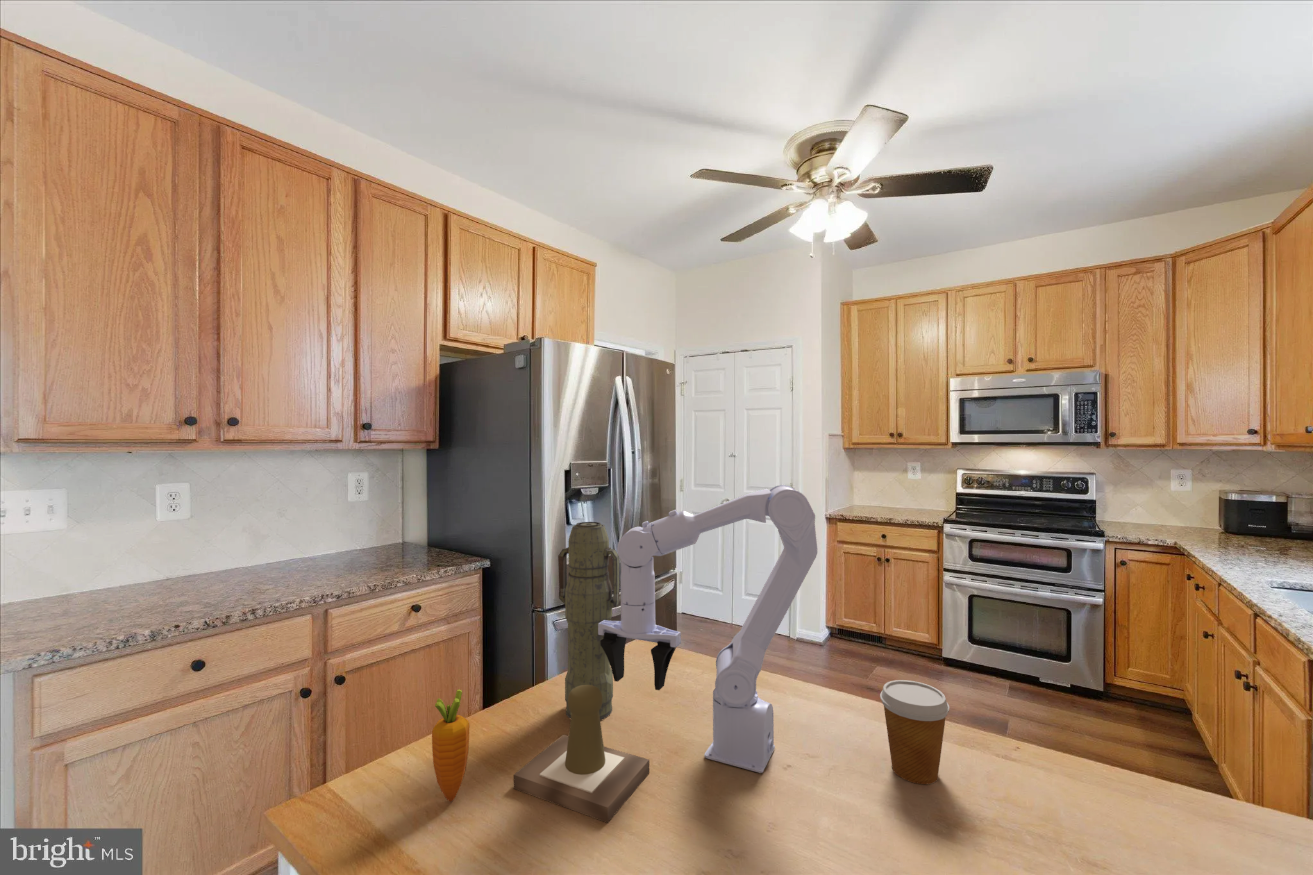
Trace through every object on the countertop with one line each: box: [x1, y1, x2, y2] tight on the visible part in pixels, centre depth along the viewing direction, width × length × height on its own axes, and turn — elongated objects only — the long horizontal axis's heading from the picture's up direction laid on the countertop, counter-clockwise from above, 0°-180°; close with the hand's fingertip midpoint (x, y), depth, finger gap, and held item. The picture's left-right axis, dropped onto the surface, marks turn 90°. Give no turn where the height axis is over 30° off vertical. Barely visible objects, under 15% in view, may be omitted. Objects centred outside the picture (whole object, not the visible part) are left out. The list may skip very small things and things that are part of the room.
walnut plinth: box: [513, 734, 650, 824], centre depth 80 cm, size 16×12×2 cm
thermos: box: [557, 521, 620, 721], centre depth 101 cm, size 9×12×35 cm
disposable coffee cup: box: [879, 679, 950, 785], centre depth 82 cm, size 10×10×12 cm
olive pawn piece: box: [565, 685, 605, 775], centre depth 81 cm, size 6×6×11 cm
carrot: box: [431, 689, 470, 802], centre depth 75 cm, size 5×5×15 cm
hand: (638, 683), depth 89 cm, fingers open, 7 cm apart
